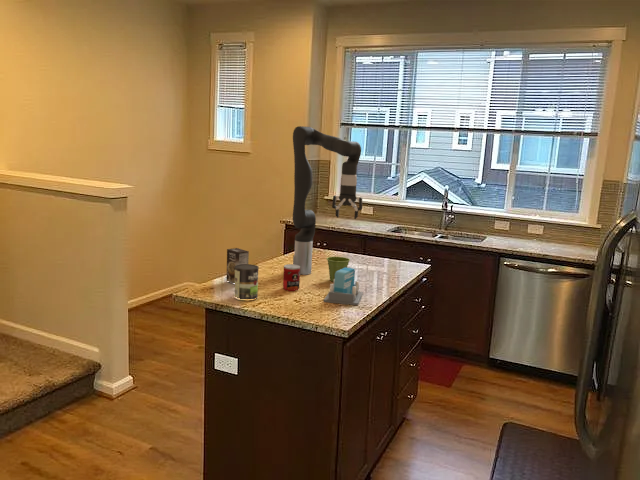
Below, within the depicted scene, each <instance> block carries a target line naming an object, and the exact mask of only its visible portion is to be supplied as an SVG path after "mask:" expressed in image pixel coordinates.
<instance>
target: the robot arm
mask: <svg viewBox="0 0 640 480" xmlns="http://www.w3.org/2000/svg"><path fill="white" fill-rule="evenodd" d="M311 145H313V146H320V147H322V148H323V149H325V150H327V151H330V152H333V153H336V154H338V155H339V156H343V157H346V158H348V159H347V161H344V162H342V165H341V177H340V185H339V187H340V188H339V195H336V194H335V195H333V196H332V205H331V208H332V209H334V210H335V217H336V218H338V219H339V217H340V208H341V207H342V206H348V207H351V206H352V208H353V209H354V218H353V219H354V220H356V219H357V218H358V217H359V211H361V210H362V209H363V197H362V196H360V197H359V196H358V197H357V184H358V181H357V180H358V179H357V173H358V165H359V162H360V158H361V155H362V146H361V143H359V142H358V141H350V140H349V141H348V140H343V139H342V138H341V137H336V136H333V135H330V134H326V133H323V132H320V131H319V130H317V129H315V128H313V127H311V126H300V125H299V126H296V127H295V128H294V129H293V132H292V146H293V155H294V156H293V157H294V158H293V159H294V160H293V161H294V162H293V163H294V171H293V172H294V173H293V174H294V176H293V177H294V178H293V179H294V180H293V181H294V182H293V183H294V193H293V194H294V195H293V207H292V223H293V226H294V227H295V228H297V229H300V231H299V232H298V233H296V234H295V236H294V254H293V258H292V264H294V265H299V266H300V276H301V275H302V276H304V275H311V274H312V265H313V262H312V261H313V245H314V244H313V242H314V236H315V233H316V225H317V224H316V223H317V221H316V220H317V219H316V218H317V217H316V214H315V212H314V211H313V210H312V209H306V201H307V197H308V195H309V194H310V191H311V189H312V186H313V169H312V167H311V164H310V163H309V161H308V159H307V155H306V146H311ZM338 200H339V201H340V202H339V203H338V205H336V204H337V201H338ZM356 201H357V202H358V206H357V204H356Z"/></svg>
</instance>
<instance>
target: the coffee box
mask: <svg viewBox="0 0 640 480" xmlns="http://www.w3.org/2000/svg"><path fill="white" fill-rule="evenodd" d="M249 255H250V252H249V250H245V249H242V248H239V247H238V248H237V247H236V248H235V247H234V248H227V249H226V279H225V280H226V281H225V282H227V281H229V282H232V283H235V266H236V265H240V264H249ZM229 282H228V283H229ZM232 283H231V284H232Z"/></svg>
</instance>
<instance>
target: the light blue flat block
mask: <svg viewBox="0 0 640 480" xmlns="http://www.w3.org/2000/svg"><path fill="white" fill-rule="evenodd" d="M355 273H356V270H355V268H352V267H347V268H346V267H345V268H343V269H340V270H338V271H336V273H335V280H334V282H333V283H334V292H338V293H348V294H352V288H353V286H354V284H355V276H356V274H355Z"/></svg>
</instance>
